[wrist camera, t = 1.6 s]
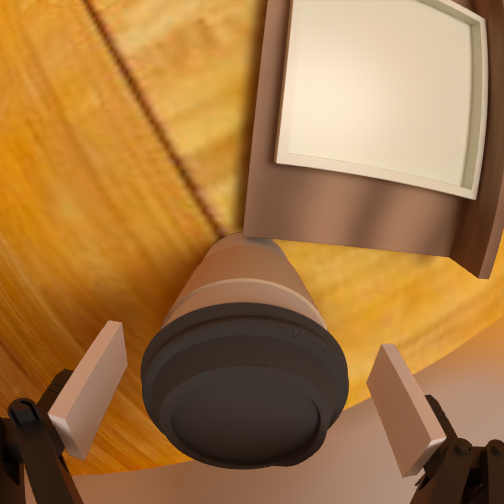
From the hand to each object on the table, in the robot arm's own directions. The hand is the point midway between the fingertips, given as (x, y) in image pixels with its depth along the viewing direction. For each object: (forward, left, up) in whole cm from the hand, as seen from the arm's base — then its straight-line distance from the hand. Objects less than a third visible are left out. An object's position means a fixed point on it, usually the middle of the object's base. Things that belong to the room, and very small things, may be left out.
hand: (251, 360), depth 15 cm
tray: (+8, +16, -7) cm, 19 cm away
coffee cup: (0, 0, -10) cm, 10 cm away
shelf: (+8, +16, -10) cm, 20 cm away
